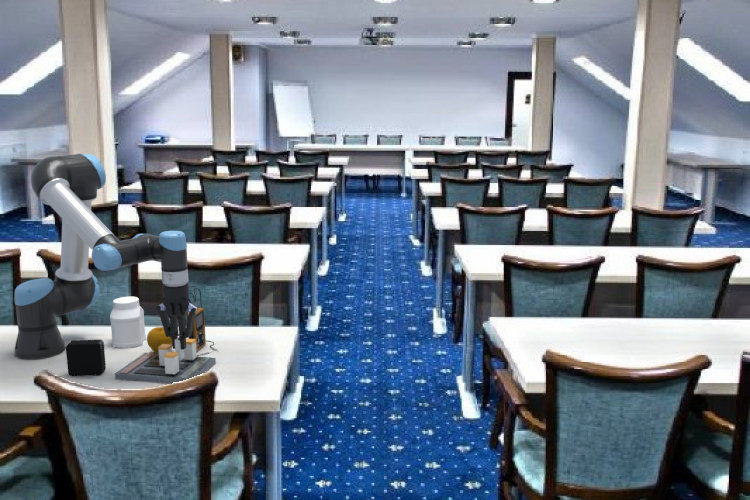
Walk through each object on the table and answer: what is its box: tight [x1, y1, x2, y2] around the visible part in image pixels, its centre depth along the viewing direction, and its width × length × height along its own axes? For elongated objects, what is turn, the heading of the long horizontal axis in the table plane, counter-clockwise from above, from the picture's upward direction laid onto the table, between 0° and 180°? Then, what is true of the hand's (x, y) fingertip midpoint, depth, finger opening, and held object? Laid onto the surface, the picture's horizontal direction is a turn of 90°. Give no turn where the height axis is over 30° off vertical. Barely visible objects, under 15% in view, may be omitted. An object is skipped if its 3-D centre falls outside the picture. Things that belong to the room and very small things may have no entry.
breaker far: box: [184, 338, 198, 360], centre depth 235 cm, size 3×3×6 cm
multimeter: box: [186, 287, 219, 357], centre depth 249 cm, size 15×10×20 cm
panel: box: [114, 352, 217, 384], centre depth 232 cm, size 24×18×2 cm
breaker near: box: [164, 351, 179, 374], centre depth 224 cm, size 3×3×6 cm
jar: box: [109, 296, 147, 349], centre depth 256 cm, size 12×10×15 cm
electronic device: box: [65, 339, 107, 377], centre depth 229 cm, size 4×10×10 cm, turn 95°
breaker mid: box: [158, 344, 173, 366], centre depth 231 cm, size 3×3×6 cm
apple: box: [146, 326, 172, 354], centre depth 246 cm, size 8×8×9 cm
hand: (180, 358), depth 230 cm, fingers closed
